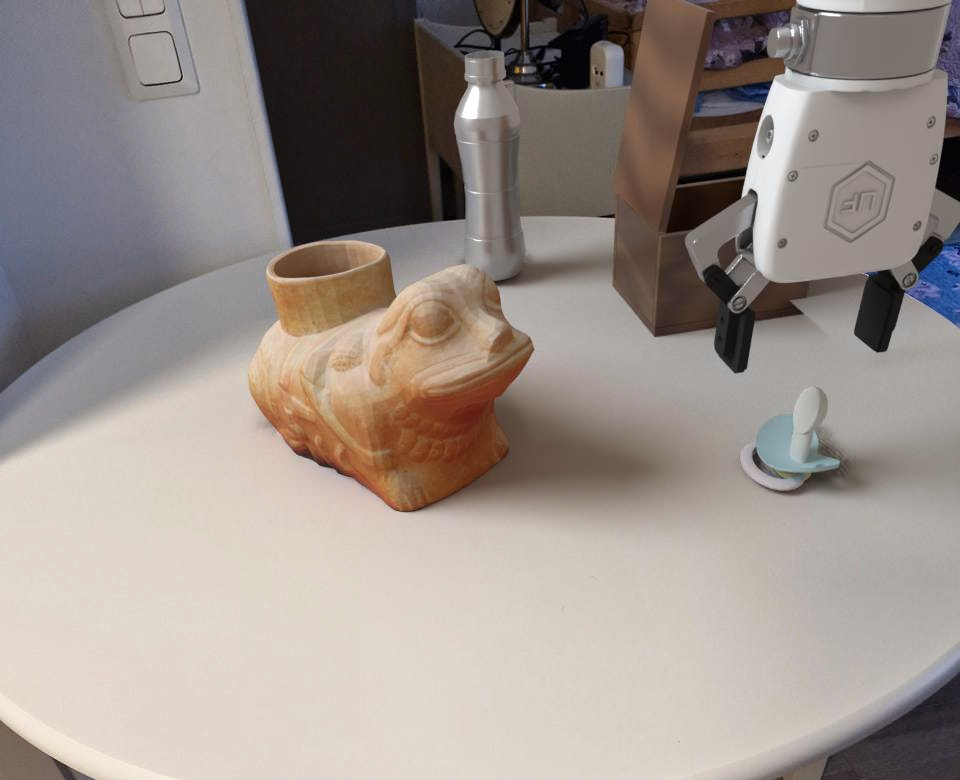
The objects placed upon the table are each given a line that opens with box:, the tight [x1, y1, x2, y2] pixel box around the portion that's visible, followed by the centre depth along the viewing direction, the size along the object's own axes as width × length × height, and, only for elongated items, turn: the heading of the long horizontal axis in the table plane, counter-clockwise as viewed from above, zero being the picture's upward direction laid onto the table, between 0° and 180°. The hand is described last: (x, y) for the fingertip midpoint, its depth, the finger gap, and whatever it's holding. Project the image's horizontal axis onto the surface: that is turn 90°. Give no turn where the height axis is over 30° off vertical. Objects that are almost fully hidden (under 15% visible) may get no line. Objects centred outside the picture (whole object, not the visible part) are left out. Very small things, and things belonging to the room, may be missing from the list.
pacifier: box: [739, 385, 841, 492], centre depth 63 cm, size 7×6×6 cm
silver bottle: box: [453, 50, 527, 282], centre depth 88 cm, size 6×7×20 cm
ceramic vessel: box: [247, 239, 535, 512], centre depth 66 cm, size 14×26×15 cm, turn 46°
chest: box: [612, 175, 811, 338], centre depth 84 cm, size 15×13×9 cm
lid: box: [611, 0, 717, 232], centre depth 75 cm, size 15×13×1 cm
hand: (800, 353), depth 59 cm, fingers open, 9 cm apart
